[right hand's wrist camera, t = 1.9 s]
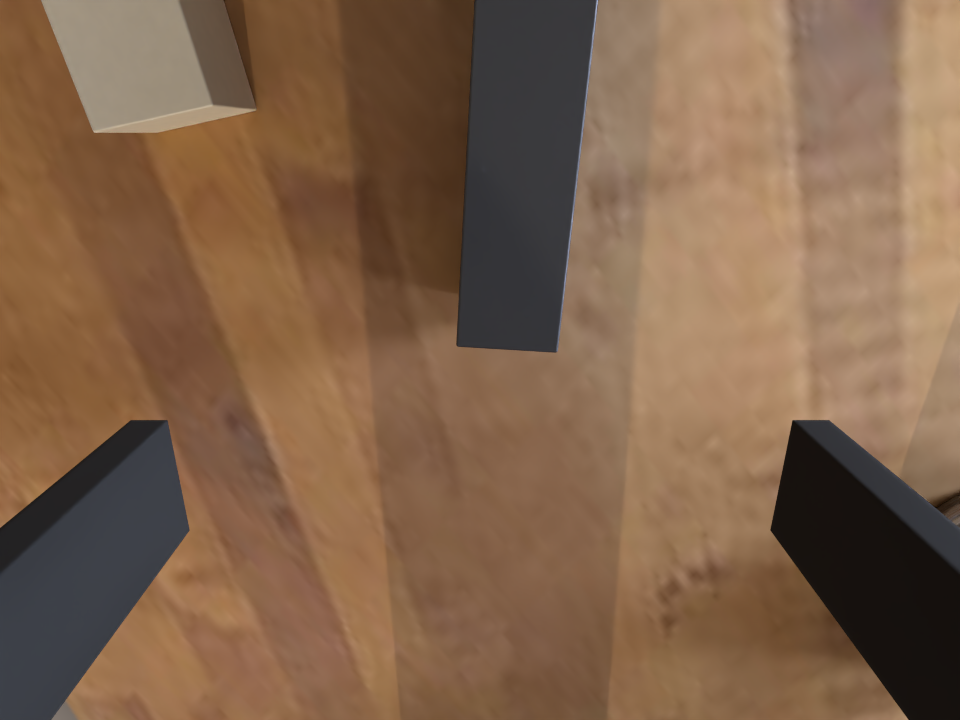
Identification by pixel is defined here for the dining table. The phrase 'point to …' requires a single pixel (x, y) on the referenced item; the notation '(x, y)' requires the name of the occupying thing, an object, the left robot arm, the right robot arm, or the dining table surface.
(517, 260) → the bar
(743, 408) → the dining table surface
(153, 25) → the block
